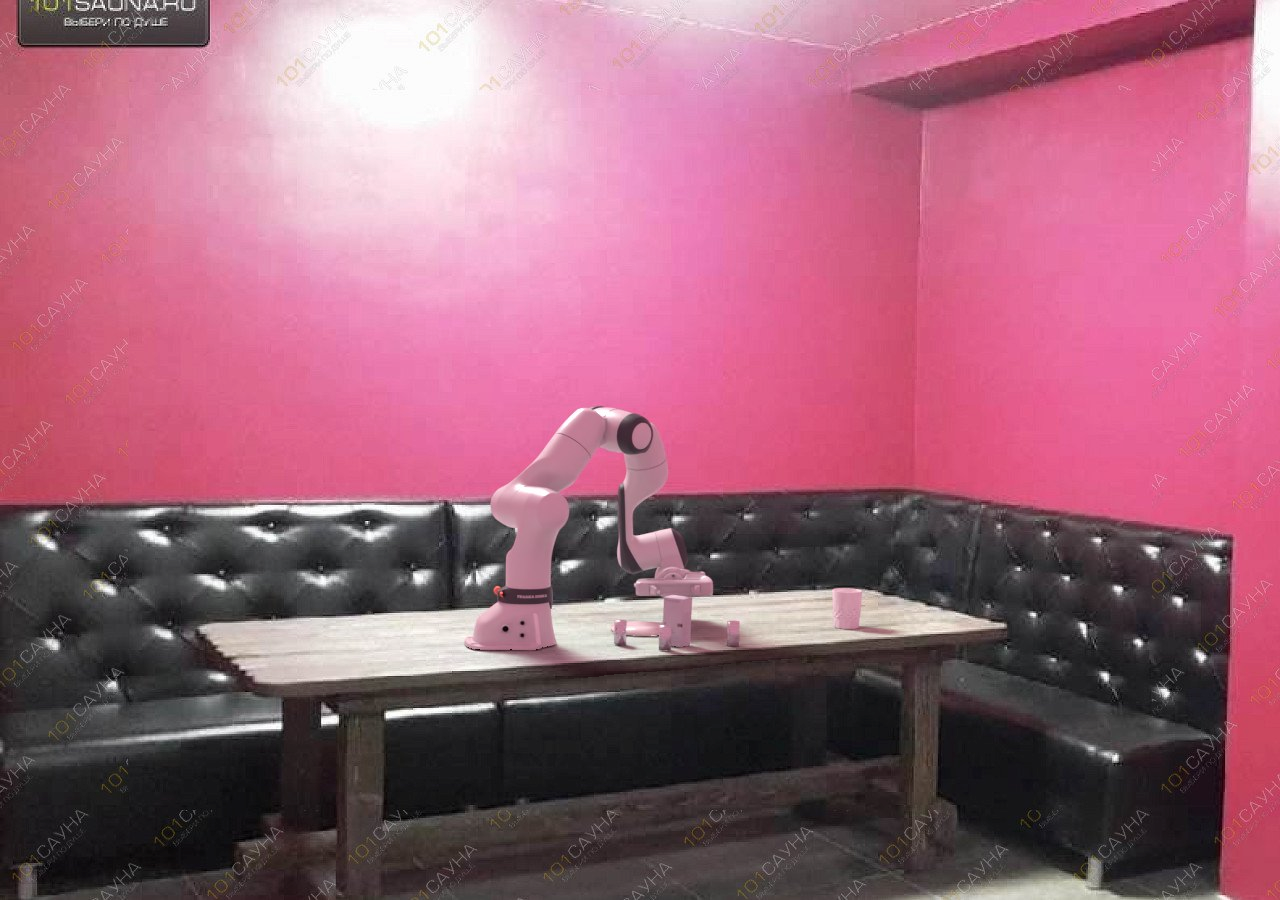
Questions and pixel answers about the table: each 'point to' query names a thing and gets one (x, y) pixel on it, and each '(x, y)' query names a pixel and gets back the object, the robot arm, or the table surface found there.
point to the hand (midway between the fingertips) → (675, 592)
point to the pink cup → (846, 607)
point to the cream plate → (641, 628)
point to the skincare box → (678, 618)
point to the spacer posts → (666, 634)
